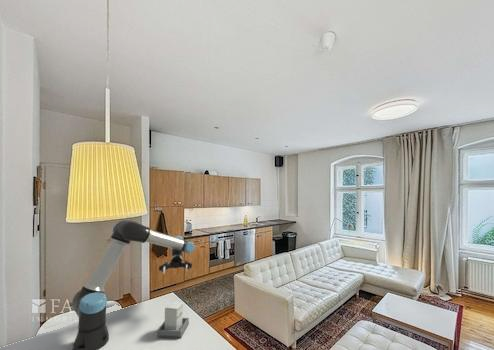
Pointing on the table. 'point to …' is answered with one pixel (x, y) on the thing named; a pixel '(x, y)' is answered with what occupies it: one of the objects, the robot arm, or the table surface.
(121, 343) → the table surface
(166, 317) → the supplement box
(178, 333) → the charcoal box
